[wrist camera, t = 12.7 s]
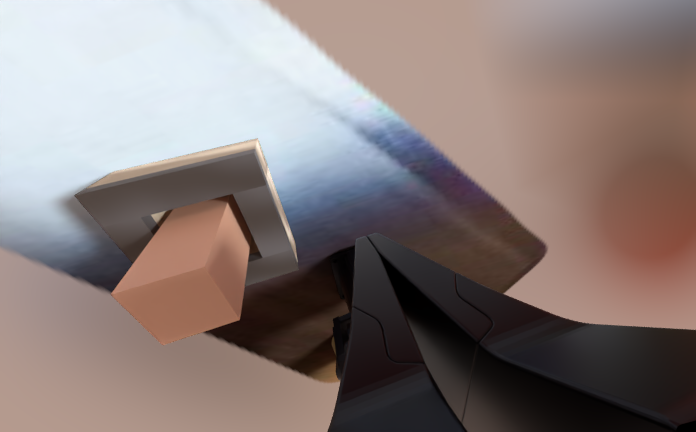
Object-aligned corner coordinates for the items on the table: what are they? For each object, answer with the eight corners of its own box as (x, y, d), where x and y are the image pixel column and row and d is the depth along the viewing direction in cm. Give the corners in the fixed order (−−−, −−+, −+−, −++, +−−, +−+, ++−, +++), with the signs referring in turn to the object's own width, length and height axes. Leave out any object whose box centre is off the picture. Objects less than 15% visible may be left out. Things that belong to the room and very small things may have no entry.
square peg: (252, 225, 22) (240, 319, 13) (206, 238, 21) (162, 345, 13) (233, 184, 20) (205, 266, 11) (181, 197, 19) (110, 294, 11)
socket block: (294, 242, 24) (298, 269, 20) (186, 273, 22) (171, 308, 19) (257, 138, 18) (254, 152, 15) (113, 171, 17) (74, 195, 14)
